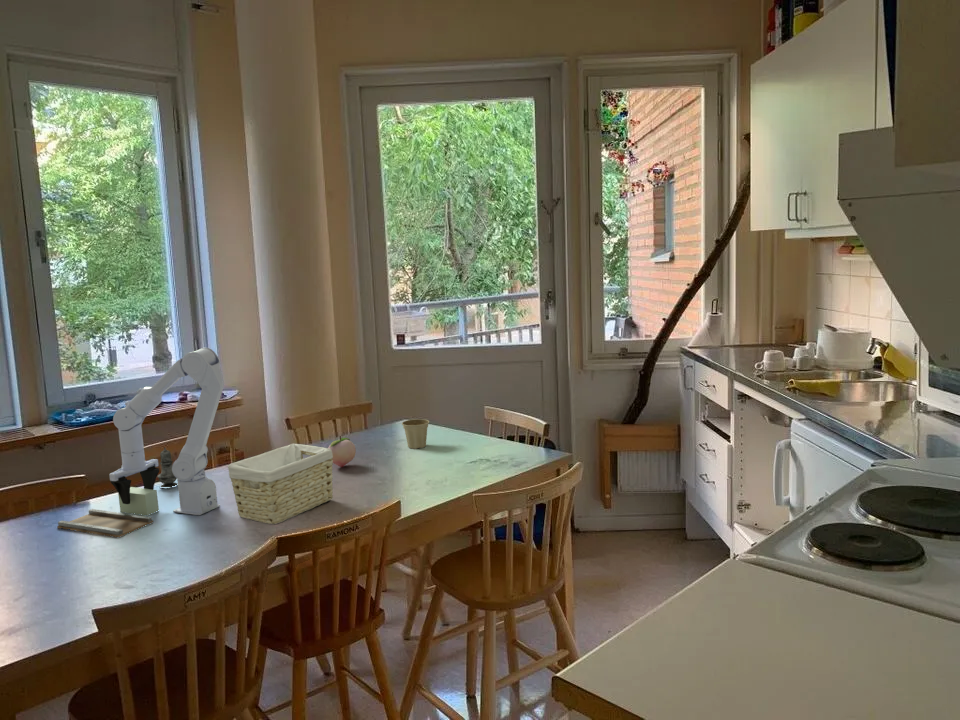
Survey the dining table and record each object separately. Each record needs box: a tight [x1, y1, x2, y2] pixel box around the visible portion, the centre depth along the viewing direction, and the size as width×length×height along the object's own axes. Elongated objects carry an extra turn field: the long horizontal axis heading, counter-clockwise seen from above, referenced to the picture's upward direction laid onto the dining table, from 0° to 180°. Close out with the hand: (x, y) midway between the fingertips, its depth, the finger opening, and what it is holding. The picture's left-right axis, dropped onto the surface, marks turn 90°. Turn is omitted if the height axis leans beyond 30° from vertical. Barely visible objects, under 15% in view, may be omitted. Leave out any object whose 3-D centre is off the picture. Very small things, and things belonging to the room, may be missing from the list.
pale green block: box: [117, 486, 160, 516], centre depth 212 cm, size 10×4×6 cm, turn 65°
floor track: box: [57, 508, 154, 538], centre depth 202 cm, size 22×11×2 cm, turn 65°
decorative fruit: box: [328, 435, 357, 468], centre depth 245 cm, size 9×8×10 cm
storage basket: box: [227, 443, 334, 525], centre depth 208 cm, size 24×16×15 cm
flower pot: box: [401, 418, 430, 450], centre depth 266 cm, size 9×9×9 cm
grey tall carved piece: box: [156, 447, 178, 487], centre depth 233 cm, size 6×6×12 cm
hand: (137, 499), depth 212 cm, fingers open, 7 cm apart
